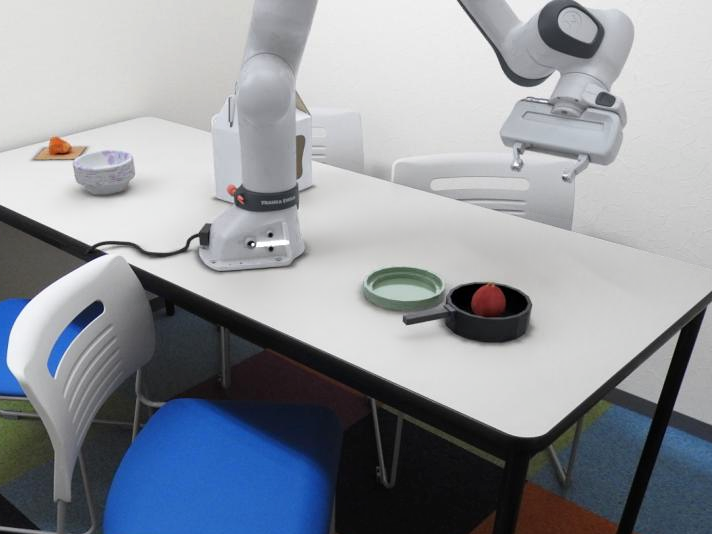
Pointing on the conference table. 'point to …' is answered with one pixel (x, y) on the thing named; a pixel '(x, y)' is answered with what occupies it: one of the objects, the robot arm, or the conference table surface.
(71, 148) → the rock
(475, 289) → the pan
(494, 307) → the onion
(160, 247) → the conference table surface
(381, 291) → the plate
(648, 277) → the conference table surface
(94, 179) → the paper bowls
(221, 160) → the gable box
